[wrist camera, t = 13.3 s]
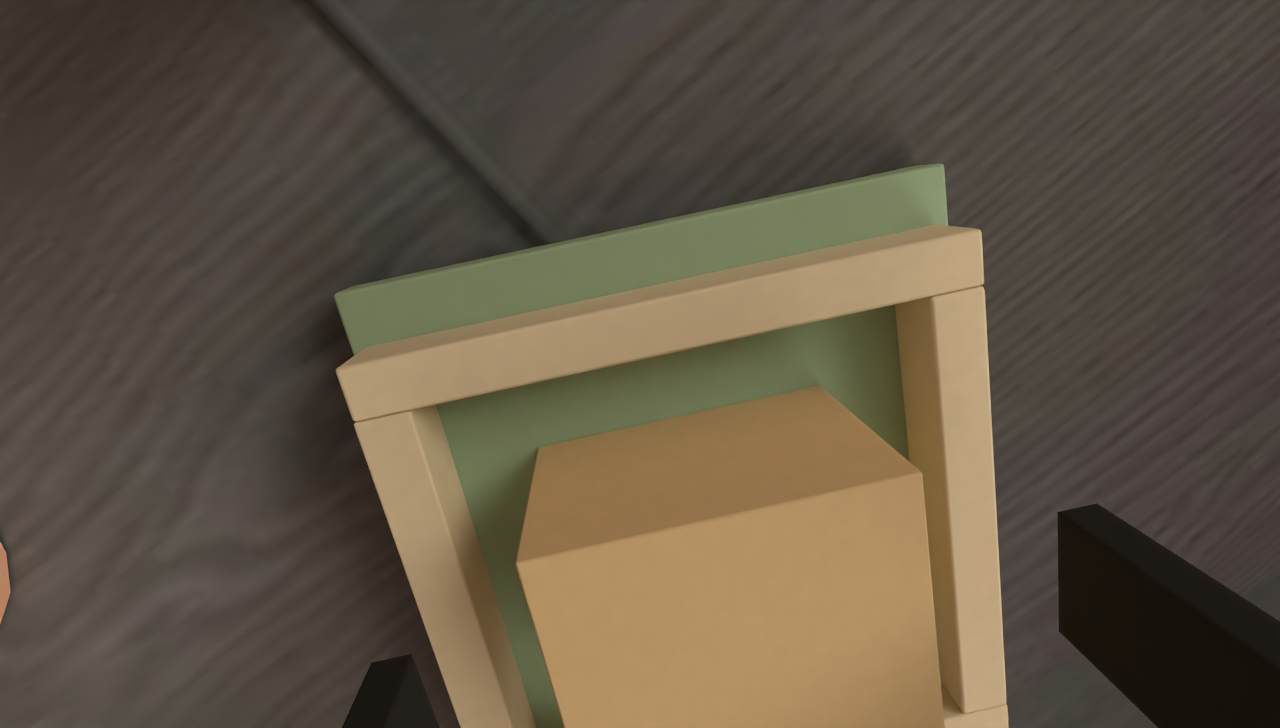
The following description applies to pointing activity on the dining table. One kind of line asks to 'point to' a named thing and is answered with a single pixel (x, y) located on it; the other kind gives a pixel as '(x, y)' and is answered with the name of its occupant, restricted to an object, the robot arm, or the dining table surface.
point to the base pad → (676, 398)
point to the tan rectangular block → (734, 573)
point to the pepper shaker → (3, 582)
